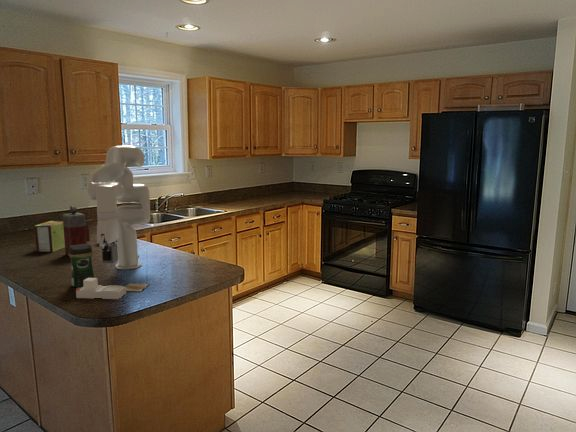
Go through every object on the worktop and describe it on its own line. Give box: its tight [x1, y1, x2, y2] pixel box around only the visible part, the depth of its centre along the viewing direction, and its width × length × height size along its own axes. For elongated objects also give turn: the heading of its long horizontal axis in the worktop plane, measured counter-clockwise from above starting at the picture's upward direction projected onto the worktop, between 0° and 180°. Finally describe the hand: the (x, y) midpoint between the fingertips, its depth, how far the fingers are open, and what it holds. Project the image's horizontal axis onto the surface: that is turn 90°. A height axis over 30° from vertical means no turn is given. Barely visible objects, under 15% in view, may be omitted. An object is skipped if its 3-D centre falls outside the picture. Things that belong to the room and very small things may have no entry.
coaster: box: [124, 283, 149, 292], centre depth 193 cm, size 9×9×1 cm
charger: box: [101, 244, 118, 264], centre depth 181 cm, size 4×4×7 cm
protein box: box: [33, 220, 65, 253], centre depth 261 cm, size 10×15×16 cm
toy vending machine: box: [62, 205, 91, 257], centre depth 247 cm, size 9×11×28 cm
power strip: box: [75, 277, 127, 300], centre depth 183 cm, size 18×7×7 cm, turn 86°
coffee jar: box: [68, 243, 96, 288], centre depth 196 cm, size 10×8×19 cm
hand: (110, 258), depth 181 cm, fingers closed on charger, 4 cm apart
